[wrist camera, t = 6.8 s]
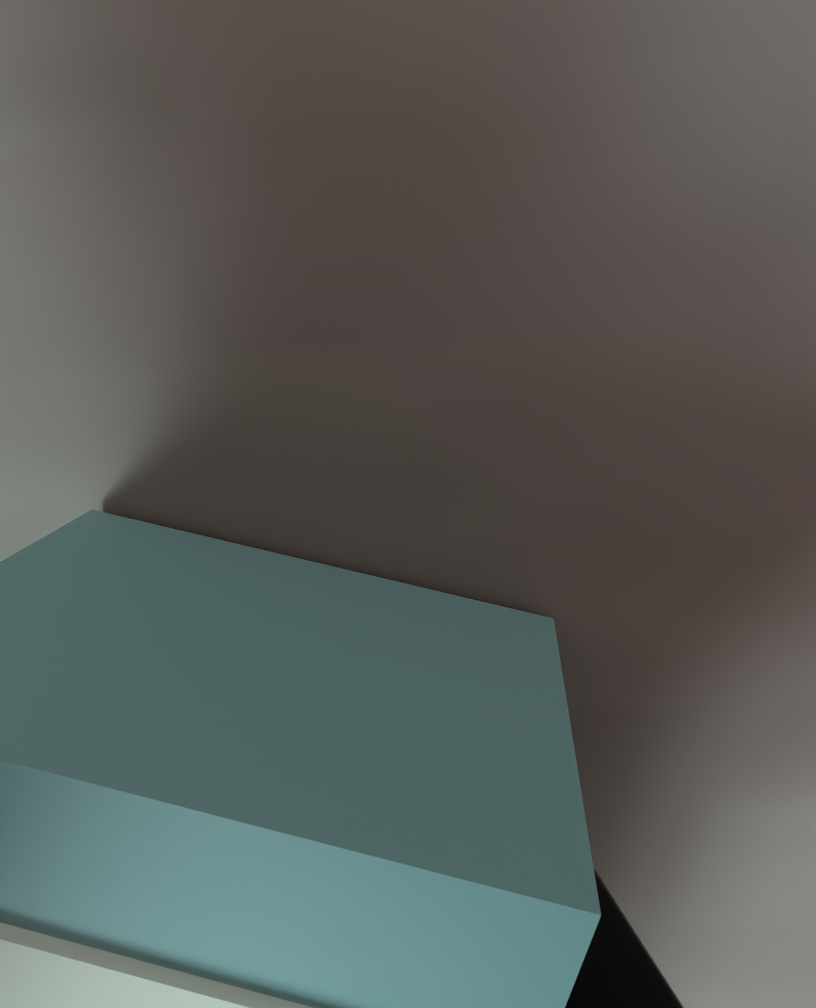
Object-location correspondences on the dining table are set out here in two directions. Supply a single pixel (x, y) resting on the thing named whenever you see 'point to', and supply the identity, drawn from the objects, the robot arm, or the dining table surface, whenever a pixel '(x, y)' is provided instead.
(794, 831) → the dining table surface
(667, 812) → the dining table surface
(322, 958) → the teal labeled box
